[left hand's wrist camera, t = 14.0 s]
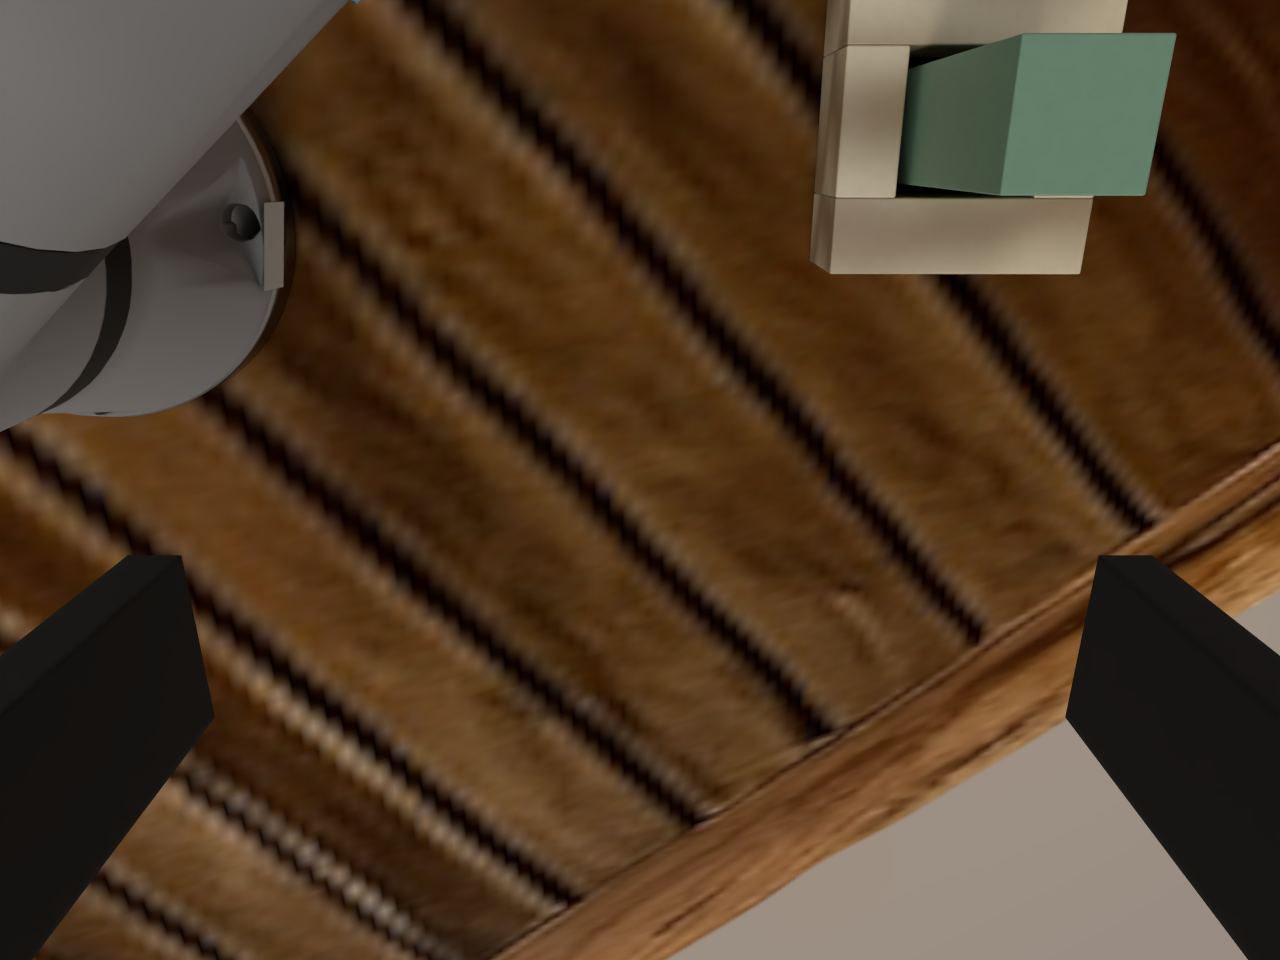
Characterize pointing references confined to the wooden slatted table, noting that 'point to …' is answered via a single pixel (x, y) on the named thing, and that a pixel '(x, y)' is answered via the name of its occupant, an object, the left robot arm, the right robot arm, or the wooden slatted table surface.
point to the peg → (1038, 115)
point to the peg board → (871, 137)
